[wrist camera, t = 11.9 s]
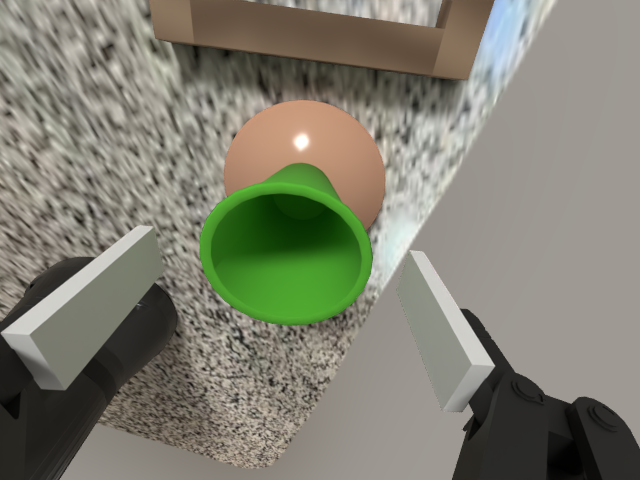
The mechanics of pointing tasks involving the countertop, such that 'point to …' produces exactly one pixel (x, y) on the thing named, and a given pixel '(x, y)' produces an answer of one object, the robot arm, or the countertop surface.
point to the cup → (286, 249)
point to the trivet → (310, 152)
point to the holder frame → (329, 35)
